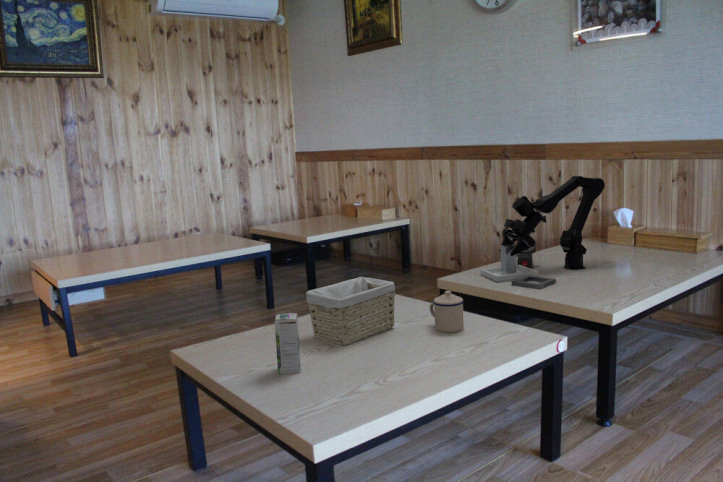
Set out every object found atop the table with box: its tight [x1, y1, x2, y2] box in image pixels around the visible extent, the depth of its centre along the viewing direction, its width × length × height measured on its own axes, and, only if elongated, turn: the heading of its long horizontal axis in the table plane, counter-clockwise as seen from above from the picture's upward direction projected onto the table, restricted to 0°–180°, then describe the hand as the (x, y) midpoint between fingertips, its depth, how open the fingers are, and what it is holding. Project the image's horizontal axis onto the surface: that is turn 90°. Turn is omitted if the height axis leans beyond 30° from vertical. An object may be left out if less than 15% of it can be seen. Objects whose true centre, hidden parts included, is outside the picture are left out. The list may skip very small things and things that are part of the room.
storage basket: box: [305, 276, 396, 346], centre depth 184 cm, size 24×16×15 cm
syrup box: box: [274, 312, 302, 375], centre depth 156 cm, size 6×6×14 cm
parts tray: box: [479, 264, 539, 283], centre depth 246 cm, size 18×15×2 cm
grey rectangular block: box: [499, 245, 517, 275], centre depth 245 cm, size 4×4×12 cm
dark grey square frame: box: [511, 275, 557, 290], centre depth 231 cm, size 12×12×2 cm
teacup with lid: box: [429, 290, 465, 334], centre depth 183 cm, size 12×9×12 cm
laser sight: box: [513, 243, 537, 269], centre depth 264 cm, size 10×22×10 cm, turn 164°
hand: (505, 253), depth 244 cm, fingers open, 9 cm apart
